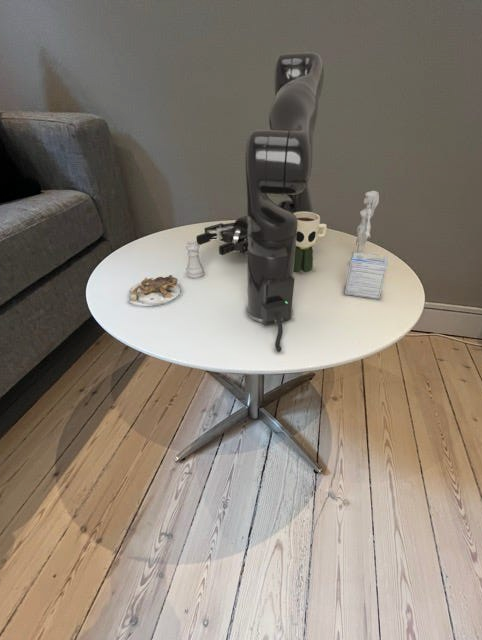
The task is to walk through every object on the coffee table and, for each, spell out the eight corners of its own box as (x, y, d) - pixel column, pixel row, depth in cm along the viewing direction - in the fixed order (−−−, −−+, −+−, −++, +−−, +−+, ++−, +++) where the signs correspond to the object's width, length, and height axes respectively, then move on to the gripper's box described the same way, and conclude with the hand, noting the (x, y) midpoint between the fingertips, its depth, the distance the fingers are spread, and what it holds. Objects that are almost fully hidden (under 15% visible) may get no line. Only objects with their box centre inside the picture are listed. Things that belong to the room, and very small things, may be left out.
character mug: (280, 275, 97) (284, 221, 88) (277, 262, 102) (280, 211, 93) (323, 274, 97) (331, 221, 88) (318, 262, 102) (325, 211, 94)
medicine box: (379, 291, 91) (388, 255, 85) (379, 300, 88) (388, 264, 82) (346, 286, 93) (352, 251, 87) (344, 295, 89) (351, 259, 84)
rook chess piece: (203, 279, 94) (200, 247, 89) (184, 278, 94) (181, 246, 89) (205, 270, 97) (202, 239, 92) (187, 270, 97) (184, 239, 92)
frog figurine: (180, 279, 94) (178, 264, 91) (181, 304, 85) (179, 288, 82) (132, 282, 92) (128, 267, 90) (127, 308, 84) (123, 292, 81)
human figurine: (348, 254, 106) (362, 183, 94) (362, 255, 106) (377, 184, 94) (351, 274, 97) (366, 198, 85) (366, 275, 97) (383, 199, 85)
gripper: (236, 207, 104) (188, 222, 96) (275, 221, 97) (227, 238, 88) (236, 235, 109) (191, 251, 101) (273, 250, 102) (228, 269, 93)
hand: (208, 245), depth 94 cm, fingers open, 8 cm apart
